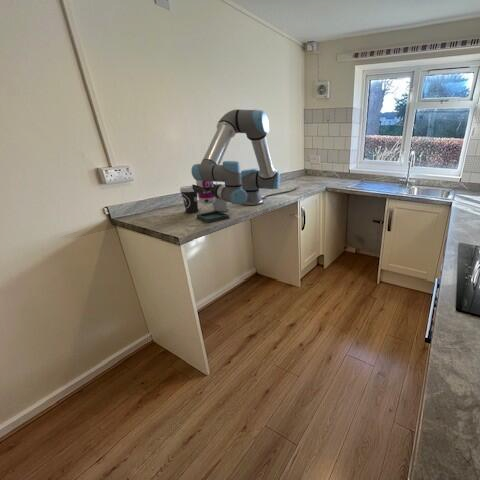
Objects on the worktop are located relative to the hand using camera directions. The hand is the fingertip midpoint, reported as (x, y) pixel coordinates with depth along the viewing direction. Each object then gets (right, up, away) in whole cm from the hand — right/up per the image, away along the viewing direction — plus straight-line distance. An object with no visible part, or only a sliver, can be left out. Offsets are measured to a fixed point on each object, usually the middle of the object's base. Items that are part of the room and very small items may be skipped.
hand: (201, 186), depth 142 cm
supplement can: (+3, -9, 0) cm, 10 cm away
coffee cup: (-13, -12, +16) cm, 24 cm away
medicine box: (+3, -12, +19) cm, 23 cm away
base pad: (+4, -17, +5) cm, 18 cm away
